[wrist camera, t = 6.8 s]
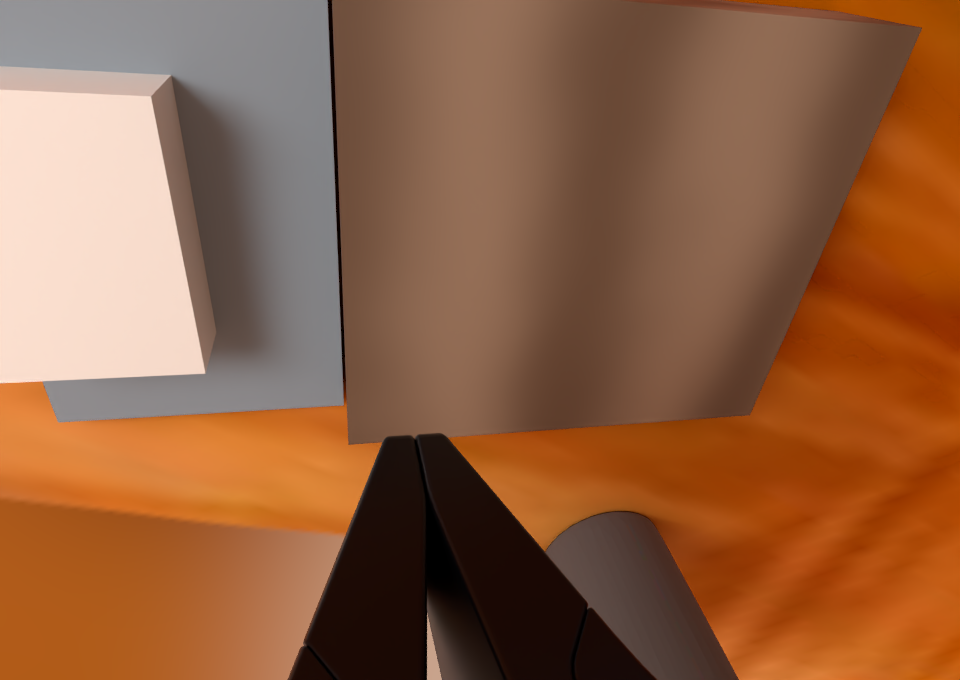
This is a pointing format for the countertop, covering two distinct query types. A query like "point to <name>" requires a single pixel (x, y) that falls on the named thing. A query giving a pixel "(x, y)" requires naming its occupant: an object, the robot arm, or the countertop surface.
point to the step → (587, 202)
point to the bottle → (641, 595)
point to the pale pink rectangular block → (97, 230)
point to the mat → (224, 187)
